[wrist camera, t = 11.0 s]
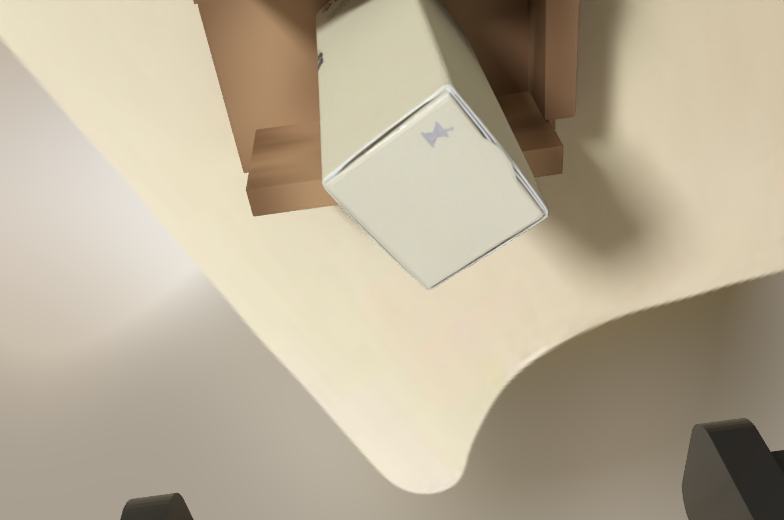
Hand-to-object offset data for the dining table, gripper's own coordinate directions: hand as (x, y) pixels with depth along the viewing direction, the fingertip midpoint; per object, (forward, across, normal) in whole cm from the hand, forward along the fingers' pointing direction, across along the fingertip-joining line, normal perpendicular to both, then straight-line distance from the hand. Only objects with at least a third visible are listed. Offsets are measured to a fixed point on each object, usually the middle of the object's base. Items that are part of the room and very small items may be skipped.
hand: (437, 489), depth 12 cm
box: (+22, -1, 0) cm, 22 cm away
